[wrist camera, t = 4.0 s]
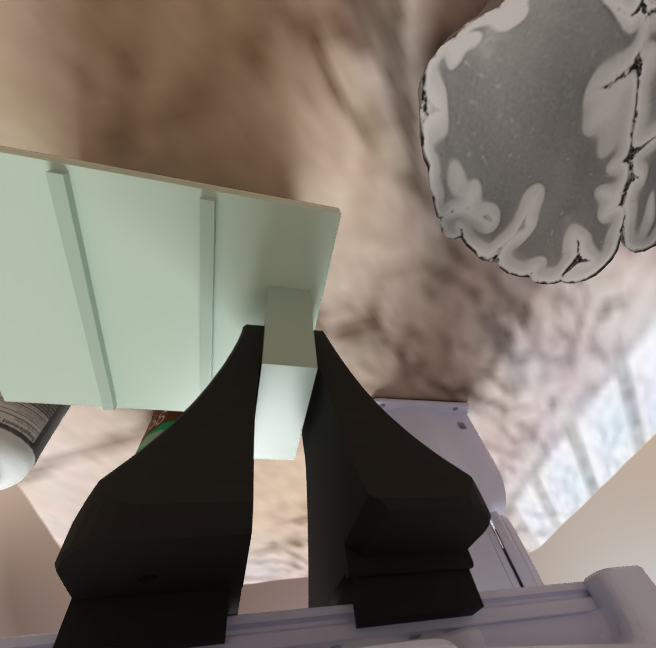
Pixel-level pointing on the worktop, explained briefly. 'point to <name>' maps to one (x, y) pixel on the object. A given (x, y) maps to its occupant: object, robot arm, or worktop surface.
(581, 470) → the worktop surface
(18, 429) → the pill bottle
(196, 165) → the worktop surface
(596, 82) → the brain slice
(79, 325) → the lid
